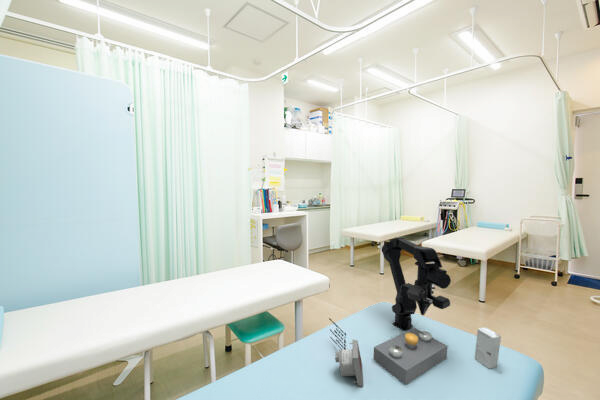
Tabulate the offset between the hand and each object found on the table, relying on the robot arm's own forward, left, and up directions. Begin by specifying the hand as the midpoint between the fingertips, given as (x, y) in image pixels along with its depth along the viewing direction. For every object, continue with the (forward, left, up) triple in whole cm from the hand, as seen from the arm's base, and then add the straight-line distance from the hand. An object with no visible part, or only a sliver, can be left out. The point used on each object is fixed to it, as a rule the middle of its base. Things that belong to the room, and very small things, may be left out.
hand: (422, 314), depth 108 cm
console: (+4, -13, -12) cm, 18 cm away
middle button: (+4, -13, -8) cm, 16 cm away
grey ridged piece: (-8, -36, -12) cm, 39 cm away
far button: (+4, -4, -10) cm, 11 cm away
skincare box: (+20, +10, -12) cm, 25 cm away
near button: (+4, -22, -10) cm, 24 cm away
